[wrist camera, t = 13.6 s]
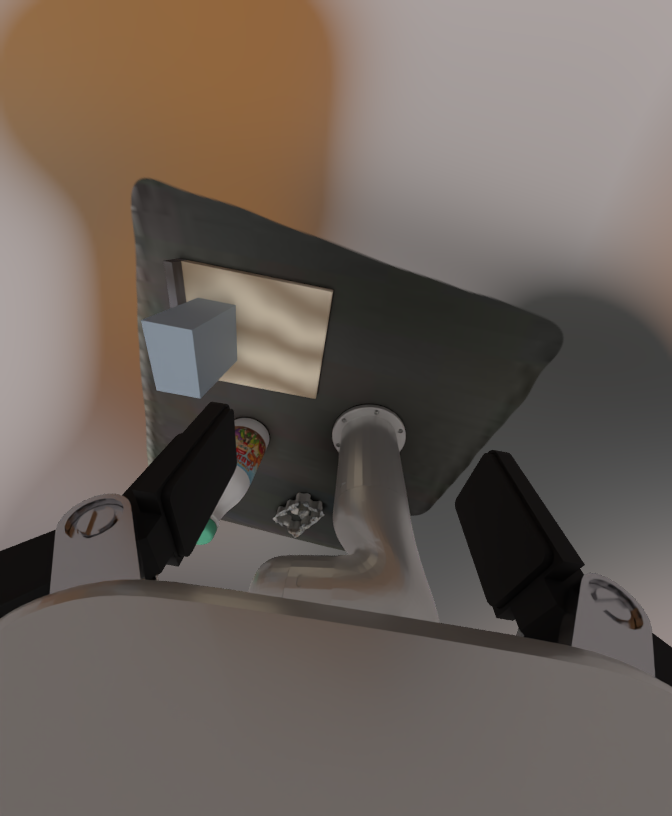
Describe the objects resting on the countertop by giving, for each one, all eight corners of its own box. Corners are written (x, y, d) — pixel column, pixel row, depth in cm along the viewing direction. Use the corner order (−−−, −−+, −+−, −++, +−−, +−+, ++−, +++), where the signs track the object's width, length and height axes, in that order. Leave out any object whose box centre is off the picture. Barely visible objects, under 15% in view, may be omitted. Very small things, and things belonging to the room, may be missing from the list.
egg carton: (297, 523, 64) (293, 540, 61) (272, 507, 62) (267, 523, 58) (329, 505, 60) (327, 522, 56) (304, 487, 57) (300, 504, 54)
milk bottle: (266, 454, 52) (221, 558, 36) (226, 442, 51) (161, 543, 35) (274, 424, 48) (227, 526, 31) (231, 410, 47) (159, 508, 31)
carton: (237, 360, 40) (200, 398, 31) (202, 353, 40) (154, 389, 31) (235, 305, 36) (192, 330, 27) (196, 297, 36) (139, 319, 27)
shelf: (316, 394, 44) (313, 405, 41) (192, 370, 43) (180, 380, 41) (333, 289, 35) (330, 295, 32) (178, 258, 35) (161, 260, 32)
